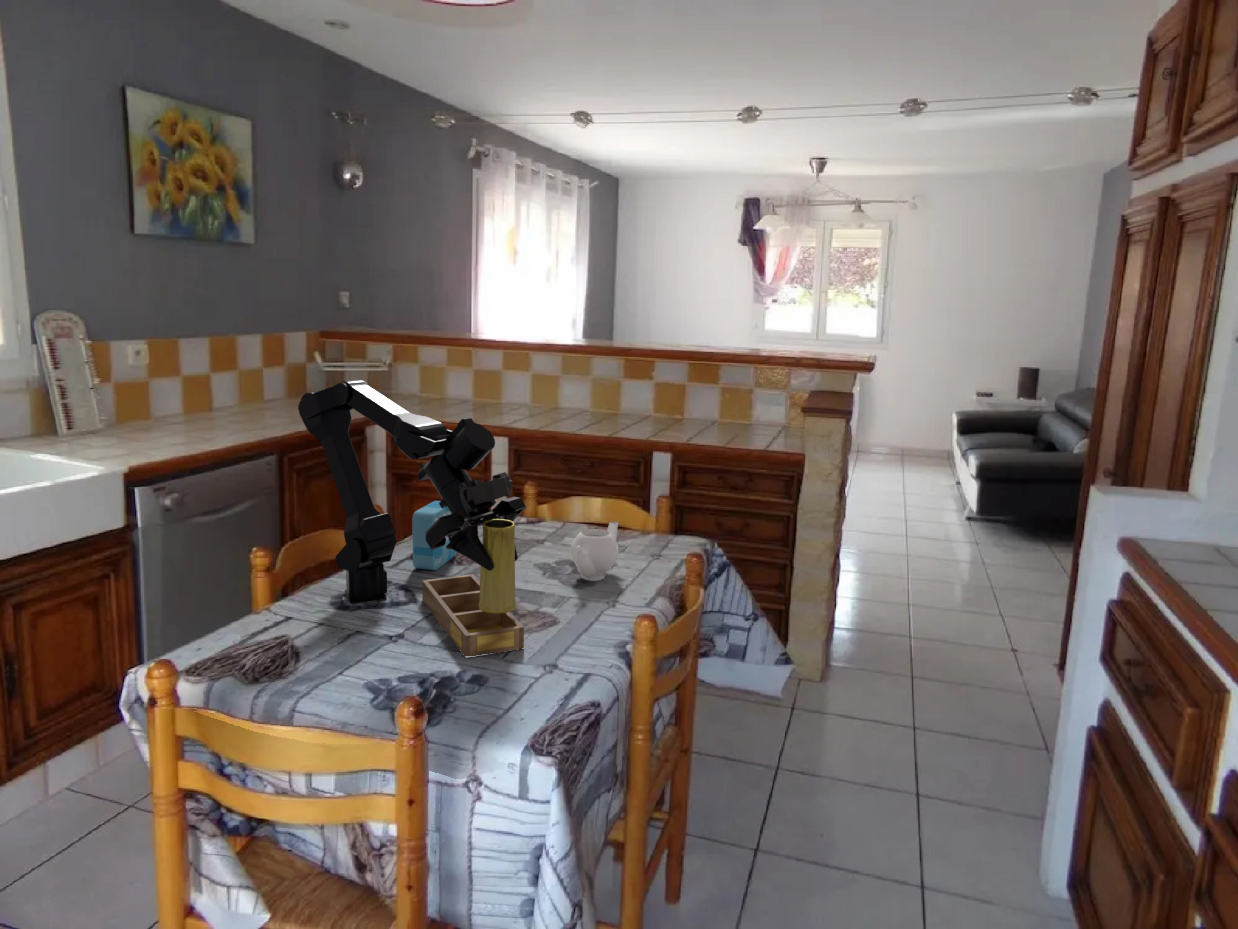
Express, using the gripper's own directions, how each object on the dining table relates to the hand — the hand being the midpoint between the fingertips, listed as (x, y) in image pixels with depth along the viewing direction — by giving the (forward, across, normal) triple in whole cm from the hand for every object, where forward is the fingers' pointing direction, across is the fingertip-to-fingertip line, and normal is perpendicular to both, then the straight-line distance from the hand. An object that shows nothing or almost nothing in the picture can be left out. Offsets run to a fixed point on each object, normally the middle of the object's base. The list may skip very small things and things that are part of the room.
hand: (504, 564), depth 139 cm
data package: (-16, +21, +36) cm, 45 cm away
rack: (+3, +2, +16) cm, 16 cm away
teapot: (+5, +35, +14) cm, 38 cm away
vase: (+5, 0, +6) cm, 8 cm away
